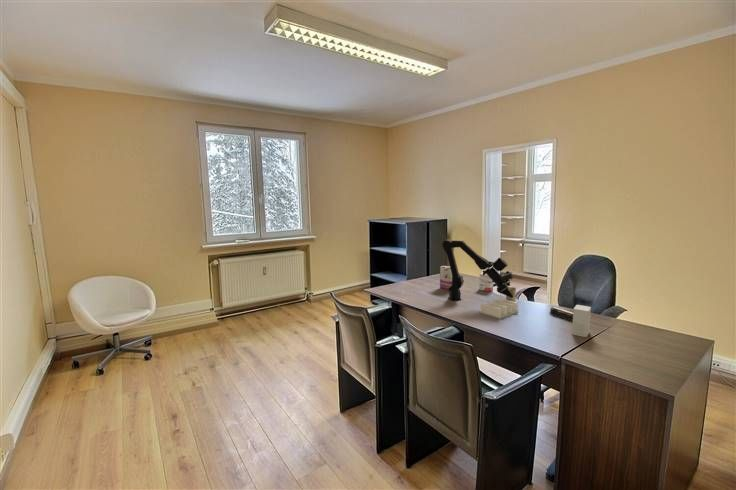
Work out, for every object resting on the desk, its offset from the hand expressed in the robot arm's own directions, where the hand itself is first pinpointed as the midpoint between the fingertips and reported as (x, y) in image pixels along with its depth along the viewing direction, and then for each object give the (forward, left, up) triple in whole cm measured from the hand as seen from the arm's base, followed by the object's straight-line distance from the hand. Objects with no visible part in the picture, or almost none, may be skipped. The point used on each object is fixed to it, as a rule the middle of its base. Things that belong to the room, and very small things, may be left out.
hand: (513, 295), depth 211 cm
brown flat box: (+14, -23, -7) cm, 28 cm away
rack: (-15, -7, -7) cm, 18 cm away
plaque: (-1, +1, -7) cm, 7 cm away
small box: (+3, -45, -7) cm, 46 cm away
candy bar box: (-18, +47, -7) cm, 51 cm away
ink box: (+6, +36, -7) cm, 37 cm away
